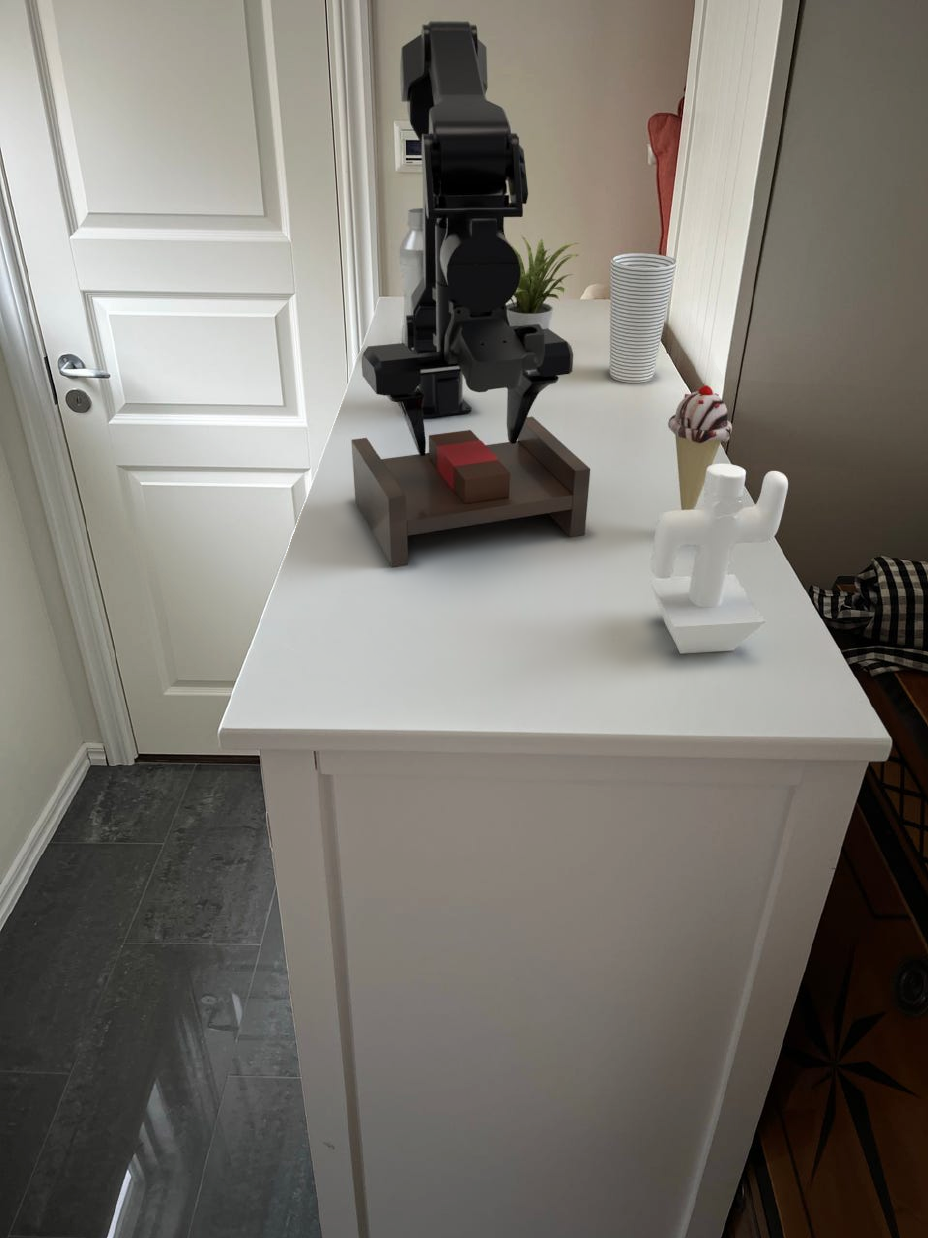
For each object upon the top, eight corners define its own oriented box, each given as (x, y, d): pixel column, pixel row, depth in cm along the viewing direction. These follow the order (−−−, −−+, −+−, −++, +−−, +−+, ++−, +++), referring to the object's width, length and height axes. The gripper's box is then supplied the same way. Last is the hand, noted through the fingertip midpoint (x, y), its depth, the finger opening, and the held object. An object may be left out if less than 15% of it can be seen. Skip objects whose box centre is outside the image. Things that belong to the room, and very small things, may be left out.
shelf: (355, 502, 96) (351, 439, 93) (529, 477, 102) (532, 416, 98) (391, 567, 85) (388, 498, 82) (584, 534, 91) (590, 468, 87)
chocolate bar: (428, 458, 95) (428, 434, 93) (470, 452, 96) (471, 428, 95) (463, 504, 86) (464, 478, 85) (509, 497, 87) (510, 472, 86)
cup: (614, 362, 134) (625, 249, 126) (670, 372, 131) (685, 257, 122) (590, 379, 128) (600, 262, 120) (649, 390, 125) (663, 270, 116)
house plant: (599, 346, 141) (609, 231, 132) (557, 371, 131) (564, 249, 122) (517, 331, 147) (521, 220, 138) (471, 353, 137) (472, 236, 128)
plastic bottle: (452, 352, 138) (452, 207, 127) (436, 367, 132) (434, 216, 121) (411, 348, 140) (408, 204, 128) (394, 362, 134) (389, 213, 123)
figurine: (630, 615, 79) (651, 450, 71) (738, 609, 80) (771, 446, 71) (654, 666, 73) (679, 492, 65) (770, 659, 74) (809, 486, 65)
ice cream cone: (713, 551, 88) (740, 398, 80) (652, 544, 89) (673, 393, 81) (712, 523, 93) (737, 377, 85) (654, 518, 94) (674, 372, 86)
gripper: (389, 314, 72) (397, 497, 80) (607, 294, 77) (592, 468, 86) (355, 280, 81) (365, 448, 89) (552, 264, 86) (544, 425, 94)
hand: (467, 448), depth 89 cm, fingers open, 9 cm apart
